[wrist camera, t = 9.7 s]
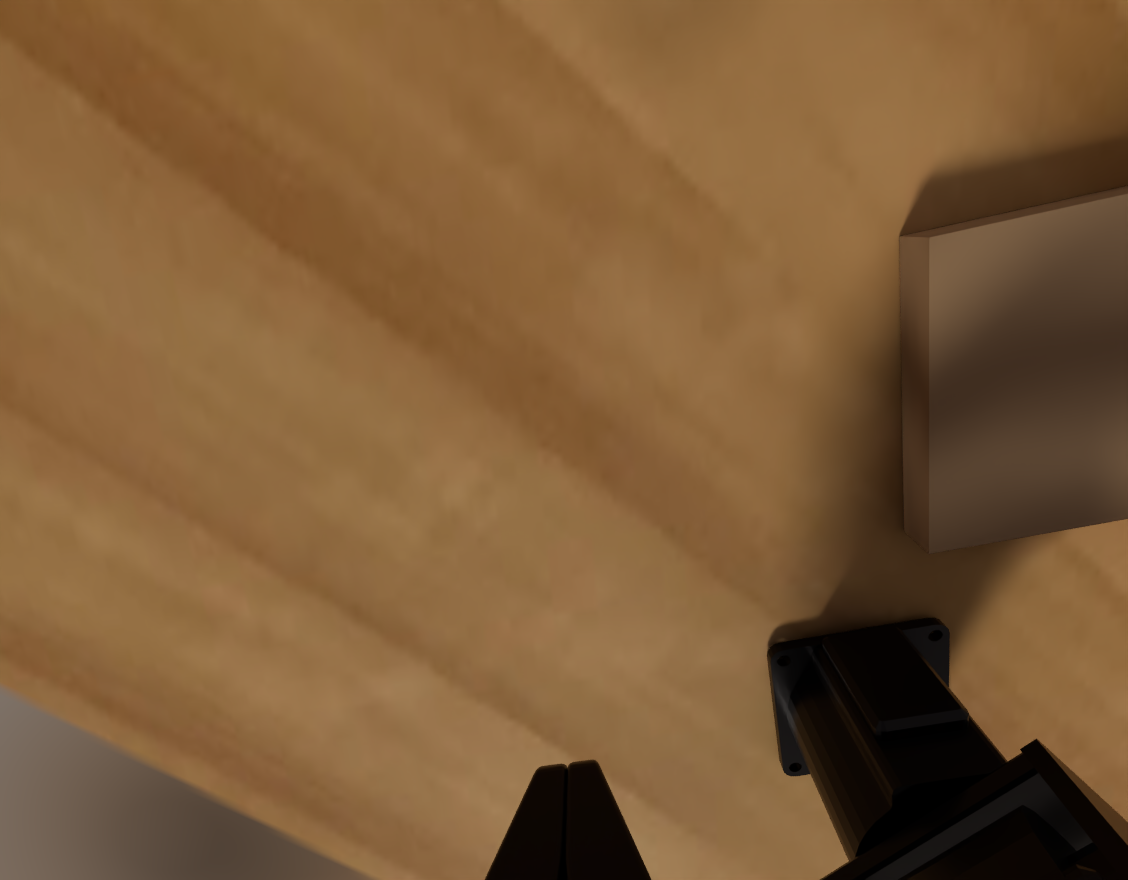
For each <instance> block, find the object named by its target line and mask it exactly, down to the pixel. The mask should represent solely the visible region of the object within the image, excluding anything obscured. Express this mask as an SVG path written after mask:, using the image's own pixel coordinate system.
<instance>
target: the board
mask: <svg viewBox="0 0 1128 880" xmlns="http://www.w3.org/2000/svg"><path fill="white" fill-rule="evenodd" d="M899 250H900V313H901V376H902V440H903V503H904V532H905V533H906V534H908V535H909V536H910V537H911V538H912V539H913V540H914V541H915V542H916V543H917V544H918V545H920V546H921V547H922V548H923V549H924V550H925V551H926V552H927V553H928V554H932V553H938V552H944V551H949V550H955V549H961V548H966V547H972V546H977V545H983V544H989V543H994V542H1000V541H1006V540H1011V539H1017V538H1022V537H1028V536H1034V535H1039V534H1045V533H1051V532H1056V531H1062V530H1067V529H1073V528H1079V527H1084V526H1090V525H1096V524H1101V523H1107V522H1112V521H1118V520H1124V519H1128V186H1124V187H1120V188H1115V189H1111V190H1106V191H1102V192H1097V193H1093V194H1088V195H1084V196H1079V197H1075V198H1070V199H1066V200H1061V201H1057V202H1052V203H1048V204H1043V205H1039V206H1034V207H1030V208H1025V209H1021V210H1016V211H1012V212H1007V213H1003V214H998V215H994V216H989V217H985V218H980V219H976V220H971V221H967V222H962V223H958V224H953V225H949V226H944V227H940V228H935V229H931V230H926V231H922V232H917V233H913V234H908V235H904V236H899Z"/></svg>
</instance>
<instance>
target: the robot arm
mask: <svg viewBox="0 0 1128 880" xmlns="http://www.w3.org/2000/svg"><path fill="white" fill-rule="evenodd" d="M934 630H935V631H934ZM932 631H934V632H933V633H931V632H932ZM930 633H931V634H930ZM949 639H950V633H949V629H948V628H947V627H946V626H945V625H944V624H943V623H942V622H941V621H940V620H939V619H937V618H924V619H918V620H912V621H907V622H901V623H895V624H889V625H883V626H877V627H871V628H865V629H859V630H853V631H847V632H841V633H836V634H830V635H824V636H818V637H812V638H806V639H800V640H794V641H788V642H782V643H778V644H775V645H773V646H772V647H770V649H769V650H768V652H767V660H768V668H769V677H770V685H771V693H772V702H773V710H774V718H775V727H776V735H777V743H778V752H779V760H780V763H781V765H782V768H783V771H784V773H786V774H787V775H789V776H801V775H808V774H811V776H812V778H813V781H814V783H815V785H816V787H817V790H818V792H819V794H820V796H821V799H822V801H823V803H824V805H825V808H826V810H827V812H828V815H829V817H830V819H831V821H832V824H833V826H834V828H835V830H836V833H837V835H838V837H839V839H840V842H841V844H842V846H843V848H844V851H845V853H846V855H847V858H848V860H849V862H847V863H846V864H844V865H842V866H841V867H839V868H838V869H836V870H835V871H833V872H831V873H830V874H828V875H827V876H825V877H823V878H822V879H820V880H1128V822H1127V821H1126V820H1125V819H1124V818H1123V817H1122V816H1121V815H1120V814H1118V813H1117V812H1116V811H1115V810H1114V809H1113V808H1112V807H1111V806H1110V805H1109V804H1108V803H1106V802H1105V801H1104V800H1103V799H1102V798H1101V797H1100V796H1099V795H1098V794H1097V793H1096V792H1094V791H1093V790H1092V789H1091V788H1090V787H1089V786H1088V785H1087V784H1086V783H1085V782H1084V781H1082V780H1081V779H1080V778H1079V777H1078V776H1077V775H1076V774H1075V773H1074V772H1073V771H1072V770H1070V769H1069V768H1068V767H1067V766H1066V765H1065V764H1064V763H1063V762H1062V761H1061V760H1060V759H1058V758H1057V757H1056V756H1055V755H1054V754H1053V753H1052V752H1051V751H1050V750H1049V749H1048V748H1046V747H1045V746H1044V745H1043V744H1042V743H1041V742H1040V741H1039V740H1038V739H1035V740H1034V741H1032V742H1031V743H1029V744H1027V745H1026V746H1024V747H1023V748H1021V749H1020V750H1021V751H1022V753H1021V754H1019V755H1018V756H1016V757H1015V758H1013V759H1011V760H1010V761H1007V760H1006V759H1005V758H1004V756H1003V755H1002V754H1001V753H1000V752H999V750H998V749H997V748H996V747H995V745H994V744H993V743H992V742H991V741H990V739H989V738H988V737H987V736H986V735H985V733H984V732H983V731H982V730H981V728H980V727H979V726H978V725H977V724H976V722H975V721H974V720H973V719H972V717H971V716H970V715H969V713H968V711H967V709H966V708H965V707H964V706H963V704H962V703H961V702H960V701H959V700H958V698H957V697H956V696H955V695H954V693H953V692H952V691H951V690H950V689H949ZM781 656H785V657H784V658H782V659H778V658H779V657H781ZM485 880H651V878H650V875H649V873H648V871H647V869H646V867H645V864H644V862H643V860H642V858H641V856H640V853H639V851H638V849H637V847H636V845H635V842H634V840H633V838H632V836H631V834H630V831H629V829H628V827H627V825H626V823H625V820H624V818H623V816H622V814H621V812H620V809H619V807H618V805H617V803H616V801H615V798H614V796H613V794H612V792H611V790H610V787H609V785H608V783H607V781H606V779H605V776H604V774H603V772H602V770H601V768H600V766H599V764H598V762H597V761H596V760H585V761H578V762H572V763H570V764H569V766H568V767H567V766H566V765H565V764H555V765H548V766H541V767H539V768H538V769H537V770H536V771H535V773H534V775H533V777H532V779H531V781H530V784H529V786H528V788H527V790H526V792H525V794H524V796H523V799H522V801H521V803H520V805H519V807H518V809H517V811H516V814H515V816H514V818H513V820H512V822H511V824H510V827H509V829H508V831H507V833H506V835H505V837H504V839H503V842H502V844H501V846H500V848H499V850H498V852H497V854H496V857H495V859H494V861H493V863H492V865H491V867H490V869H489V872H488V874H487V876H486V878H485Z"/></svg>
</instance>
